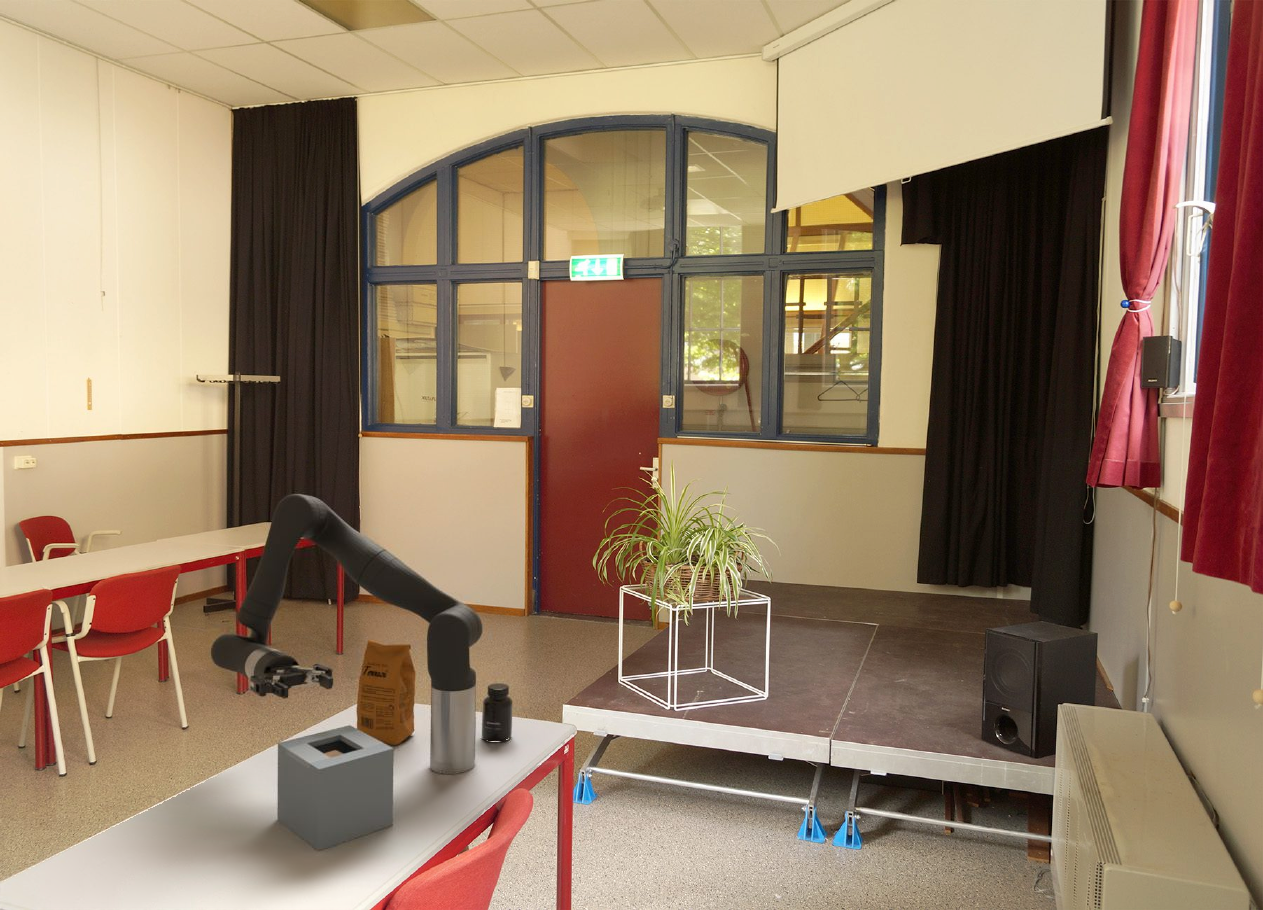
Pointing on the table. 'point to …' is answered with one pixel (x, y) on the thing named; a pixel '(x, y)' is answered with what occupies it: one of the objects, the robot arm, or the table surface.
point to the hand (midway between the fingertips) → (309, 688)
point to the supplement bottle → (497, 713)
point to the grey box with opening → (335, 786)
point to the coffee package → (386, 693)
